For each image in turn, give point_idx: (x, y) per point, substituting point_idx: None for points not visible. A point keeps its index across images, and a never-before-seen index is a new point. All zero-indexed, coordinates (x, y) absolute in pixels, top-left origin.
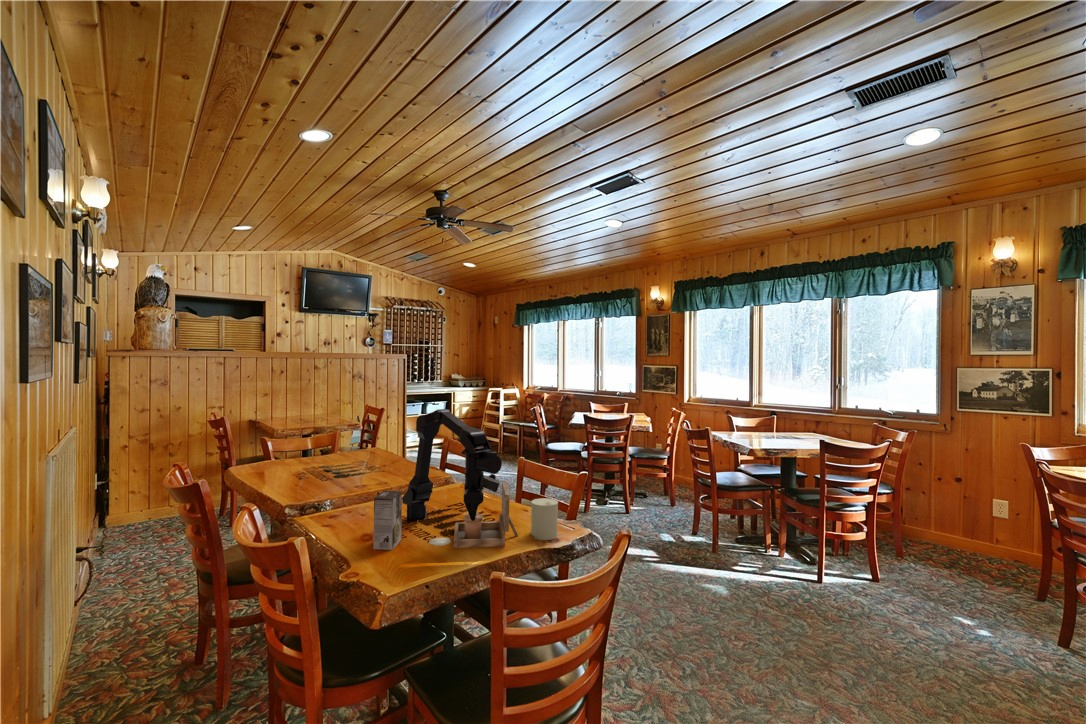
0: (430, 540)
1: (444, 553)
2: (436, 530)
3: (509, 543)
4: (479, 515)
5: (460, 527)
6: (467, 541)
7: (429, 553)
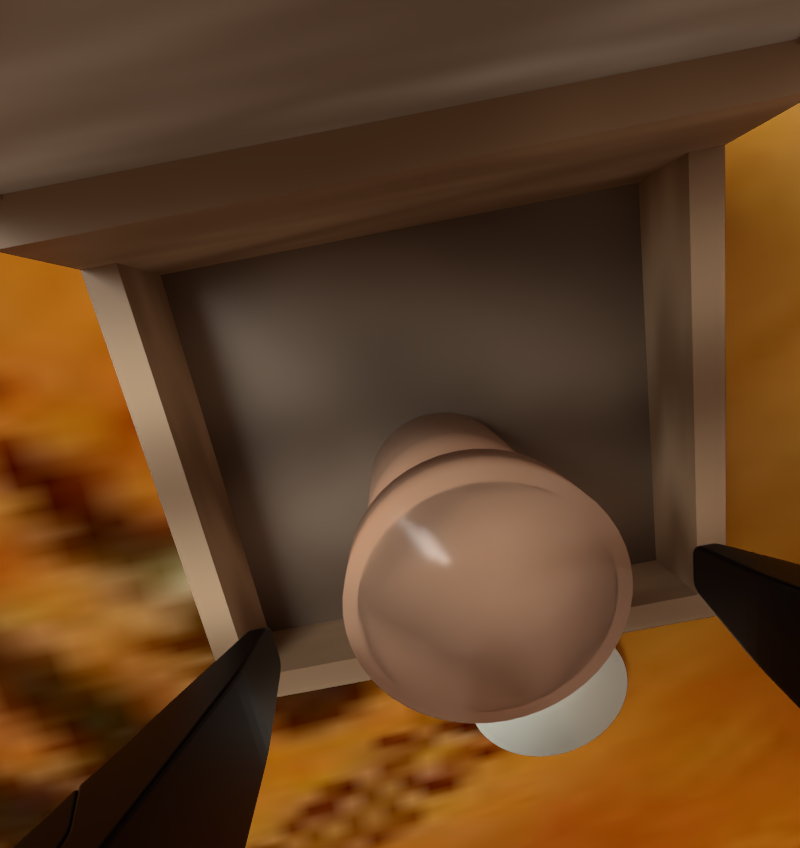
0: (528, 752)
1: None
2: None
3: None
4: (447, 520)
5: None
6: (718, 499)
7: (710, 692)
